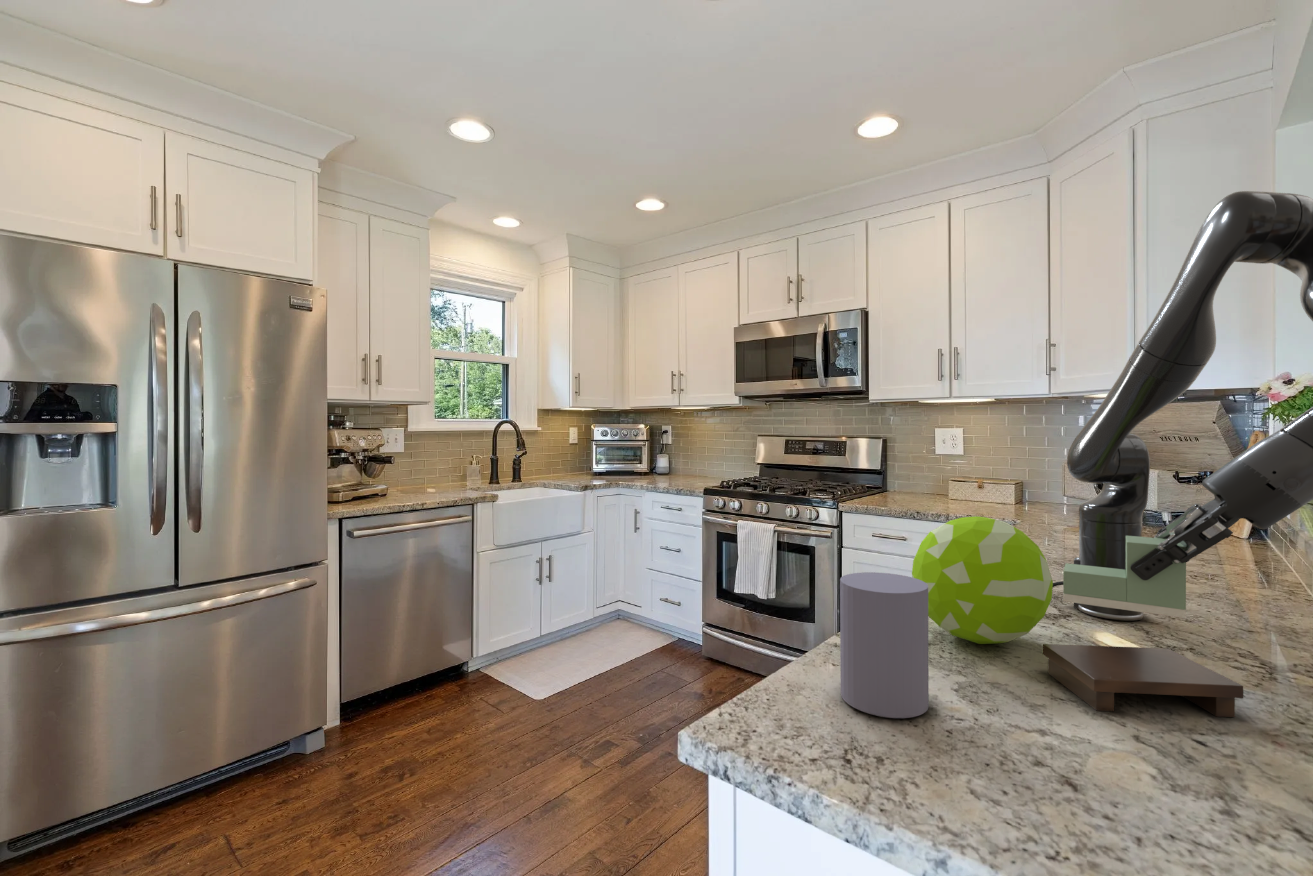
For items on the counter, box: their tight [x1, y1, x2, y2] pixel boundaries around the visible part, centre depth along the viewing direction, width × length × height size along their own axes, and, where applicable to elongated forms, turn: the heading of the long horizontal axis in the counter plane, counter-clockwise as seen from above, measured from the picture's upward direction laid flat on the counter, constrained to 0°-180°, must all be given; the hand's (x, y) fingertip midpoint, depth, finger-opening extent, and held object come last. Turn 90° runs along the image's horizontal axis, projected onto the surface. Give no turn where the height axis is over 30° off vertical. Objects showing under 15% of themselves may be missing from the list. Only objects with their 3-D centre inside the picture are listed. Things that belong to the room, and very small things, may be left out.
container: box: [839, 571, 930, 719], centre depth 74 cm, size 10×10×15 cm
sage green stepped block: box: [1062, 536, 1187, 619], centre depth 76 cm, size 12×6×8 cm, turn 53°
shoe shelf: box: [1042, 643, 1244, 718], centre depth 76 cm, size 16×12×4 cm
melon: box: [911, 515, 1054, 645], centre depth 96 cm, size 20×25×20 cm
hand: (1136, 569), depth 75 cm, fingers closed on sage green stepped block, 5 cm apart
